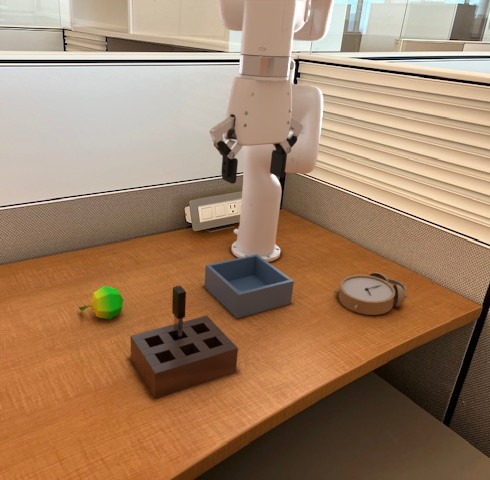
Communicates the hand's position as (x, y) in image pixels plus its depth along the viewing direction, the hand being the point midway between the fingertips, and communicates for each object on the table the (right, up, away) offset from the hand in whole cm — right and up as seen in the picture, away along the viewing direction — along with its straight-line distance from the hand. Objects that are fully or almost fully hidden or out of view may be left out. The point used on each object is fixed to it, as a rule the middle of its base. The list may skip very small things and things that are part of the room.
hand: (253, 178), depth 79 cm
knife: (-13, -31, +5) cm, 34 cm away
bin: (+2, -22, +26) cm, 34 cm away
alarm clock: (+29, -24, +26) cm, 45 cm away
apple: (-28, -26, +16) cm, 41 cm away
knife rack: (-12, -32, +4) cm, 34 cm away
